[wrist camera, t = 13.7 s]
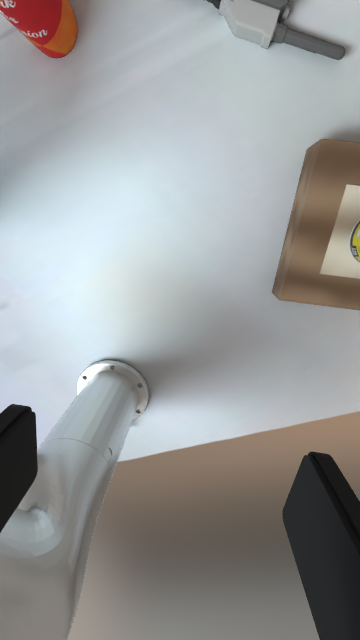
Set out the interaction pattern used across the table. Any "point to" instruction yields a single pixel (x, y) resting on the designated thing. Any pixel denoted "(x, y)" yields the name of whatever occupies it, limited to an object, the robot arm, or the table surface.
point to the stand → (323, 230)
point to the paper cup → (44, 23)
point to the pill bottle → (355, 242)
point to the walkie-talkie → (270, 25)
